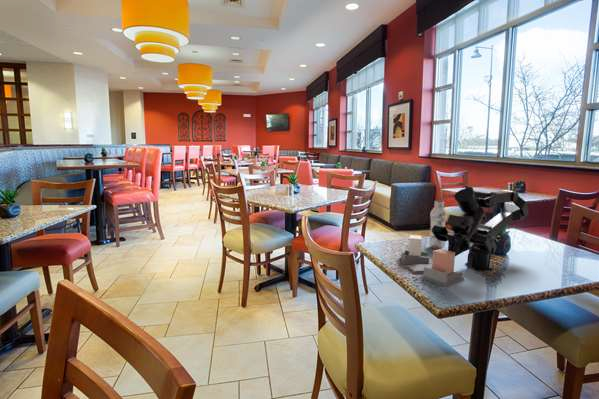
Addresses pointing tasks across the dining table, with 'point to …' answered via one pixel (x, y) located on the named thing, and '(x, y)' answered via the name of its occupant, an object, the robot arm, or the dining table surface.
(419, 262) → the grey tray
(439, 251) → the terracotta key
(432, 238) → the plastic bottle
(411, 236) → the cream key
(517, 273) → the dining table surface
